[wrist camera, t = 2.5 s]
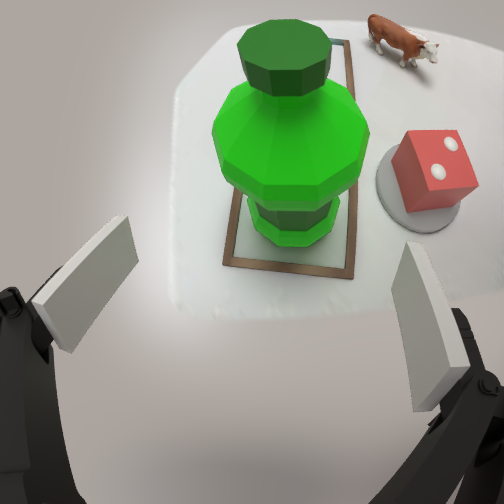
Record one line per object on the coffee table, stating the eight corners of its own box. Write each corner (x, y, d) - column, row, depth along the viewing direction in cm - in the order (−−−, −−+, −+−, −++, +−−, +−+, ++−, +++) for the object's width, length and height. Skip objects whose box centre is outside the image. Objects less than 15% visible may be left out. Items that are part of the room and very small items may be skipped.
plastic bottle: (283, 160, 37) (260, -18, 12) (353, 207, 34) (427, 45, 10) (233, 220, 36) (132, 74, 12) (304, 274, 33) (326, 179, 9)
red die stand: (439, 146, 34) (463, 112, 26) (465, 226, 31) (501, 205, 23) (365, 151, 35) (379, 112, 27) (389, 239, 33) (415, 217, 24)
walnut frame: (348, 42, 40) (349, 40, 39) (352, 279, 33) (353, 278, 32) (263, 37, 42) (262, 35, 41) (223, 265, 35) (222, 264, 34)
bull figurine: (423, 87, 36) (438, 54, 28) (359, 44, 39) (364, 9, 31) (434, 78, 36) (448, 46, 28) (373, 36, 39) (379, 3, 32)
